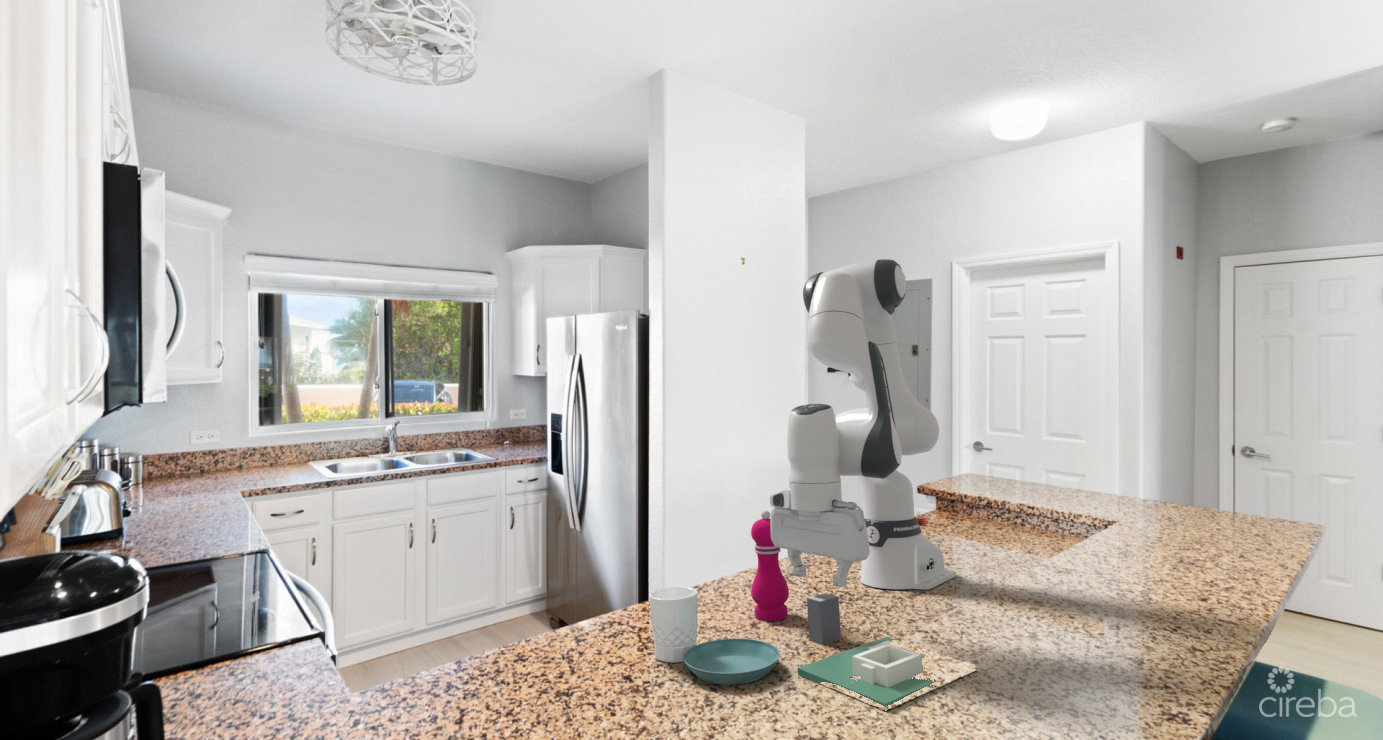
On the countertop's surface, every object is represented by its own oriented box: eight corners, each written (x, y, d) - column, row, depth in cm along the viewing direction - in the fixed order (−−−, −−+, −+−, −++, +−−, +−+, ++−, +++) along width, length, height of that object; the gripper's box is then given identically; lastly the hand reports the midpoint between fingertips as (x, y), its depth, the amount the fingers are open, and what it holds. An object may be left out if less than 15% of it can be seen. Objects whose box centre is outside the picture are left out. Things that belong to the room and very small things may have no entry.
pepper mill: (789, 622, 121) (782, 512, 122) (750, 622, 122) (744, 513, 124) (791, 610, 128) (785, 507, 129) (754, 610, 129) (748, 508, 131)
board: (886, 643, 108) (885, 621, 108) (976, 671, 94) (974, 646, 95) (797, 674, 96) (796, 650, 96) (885, 711, 83) (883, 683, 83)
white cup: (683, 667, 101) (680, 601, 102) (642, 660, 105) (639, 596, 106) (709, 651, 108) (706, 589, 109) (669, 644, 112) (667, 585, 113)
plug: (828, 634, 113) (825, 592, 114) (841, 638, 111) (838, 595, 111) (809, 640, 111) (806, 597, 111) (822, 645, 108) (819, 601, 109)
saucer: (742, 647, 109) (741, 631, 110) (801, 674, 97) (800, 656, 97) (666, 669, 102) (665, 651, 102) (720, 701, 89) (719, 681, 89)
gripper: (875, 501, 106) (880, 589, 104) (789, 493, 122) (792, 568, 121) (848, 504, 102) (853, 595, 101) (763, 496, 119) (766, 573, 118)
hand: (819, 580), depth 111 cm, fingers open, 8 cm apart
